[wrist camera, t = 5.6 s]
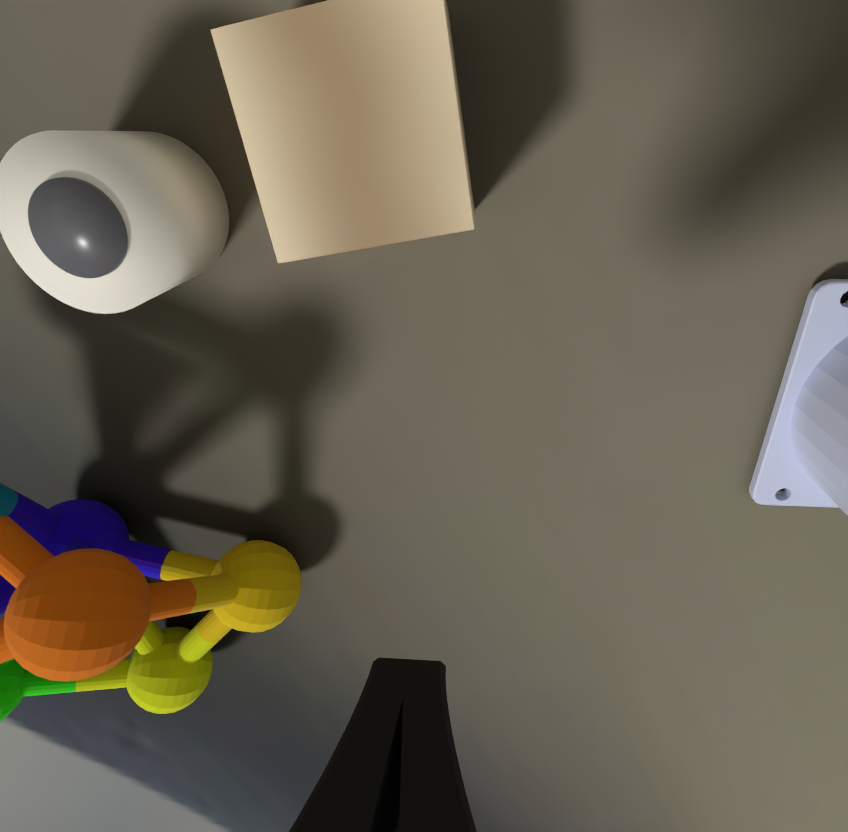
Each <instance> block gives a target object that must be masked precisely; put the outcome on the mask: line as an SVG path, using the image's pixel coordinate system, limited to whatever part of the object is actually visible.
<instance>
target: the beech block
mask: <svg viewBox="0 0 848 832" xmlns="http://www.w3.org/2000/svg"><path fill="white" fill-rule="evenodd" d="M211 34H212V37H213V40H214V44H215V47H216V51H217V54H218V58H219V61H220V65H221V68H222V71H223V75H224V78H225V82H226V85H227V89H228V92H229V96H230V99H231V102H232V106H233V109H234V113H235V116H236V120H237V123H238V127H239V130H240V134H241V137H242V140H243V144H244V147H245V151H246V154H247V158H248V161H249V165H250V168H251V171H252V175H253V178H254V182H255V185H256V189H257V192H258V196H259V199H260V202H261V206H262V209H263V213H264V216H265V220H266V223H267V227H268V230H269V233H270V237H271V240H272V244H273V247H274V251H275V254H276V258H277V261H278V263H283V262H289V261H295V260H301V259H306V258H312V257H318V256H324V255H329V254H335V253H341V252H347V251H352V250H358V249H364V248H370V247H375V246H381V245H387V244H393V243H398V242H404V241H410V240H416V239H421V238H427V237H433V236H439V235H444V234H450V233H456V232H462V231H467V230H473V229H474V217H475V209H474V201H473V193H472V186H471V178H470V170H469V163H468V155H467V148H466V140H465V132H464V125H463V117H462V110H461V102H460V94H459V87H458V79H457V72H456V64H455V56H454V49H453V41H452V33H451V26H450V18H449V11H448V6H447V2H446V0H327V1H323V2H319V3H315V4H311V5H307V6H303V7H299V8H295V9H291V10H287V11H283V12H279V13H275V14H271V15H267V16H263V17H259V18H255V19H251V20H247V21H243V22H239V23H235V24H231V25H227V26H223V27H219V28H215V29H211Z"/></svg>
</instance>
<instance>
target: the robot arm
mask: <svg viewBox="0 0 848 832" xmlns="http://www.w3.org/2000/svg"><path fill="white" fill-rule="evenodd" d="M847 291H848V279H828V280H823V281H821V282H819V283H817V284H816V285H815V286H814V287H813V288H812V289H811V291H810V293H809V295H808V297H807V300H806V304H805V307H804V310H803V314H802V317H801V320H800V323H799V327H798V330H797V333H796V336H795V340H794V343H793V346H792V350H791V353H790V356H789V359H788V363H787V366H786V369H785V373H784V376H783V379H782V382H781V386H780V389H779V392H778V395H777V399H776V402H775V405H774V409H773V412H772V415H771V418H770V422H769V425H768V428H767V432H766V435H765V438H764V441H763V445H762V448H761V451H760V454H759V458H758V461H757V464H756V468H755V471H754V474H753V477H752V481H751V484H750V487H749V493H750V495H751V497H752V498H753V499H754V501H755V502H757V503H758V504H763V505H784V506H811V507H838V508H840V509H841V510H842V511H843V512H844V513H845V514H846V515H847V516H848V301H846V302H845V303H842V304H840V298H841V297H842V295H843V294H844V293H846V292H847ZM784 488H786V489H785V490H784V491H783V492H782V493H780V494H776V492H777V491H778V490H780V489H784ZM289 832H477V831H476V828H475V824H474V821H473V818H472V814H471V811H470V807H469V803H468V799H467V796H466V792H465V788H464V784H463V780H462V776H461V771H460V767H459V763H458V758H457V754H456V750H455V745H454V740H453V735H452V729H451V723H450V717H449V711H448V703H447V694H446V666H445V665H444V664H443V663H442V662H441V661H428V660H410V659H392V658H378V659H376V660H375V661H373V664H372V667H371V670H370V673H369V676H368V679H367V681H366V684H365V686H364V689H363V691H362V694H361V696H360V699H359V701H358V703H357V706H356V708H355V710H354V712H353V714H352V716H351V719H350V721H349V723H348V725H347V727H346V729H345V731H344V733H343V735H342V737H341V739H340V741H339V743H338V745H337V747H336V749H335V751H334V753H333V755H332V757H331V759H330V761H329V763H328V765H327V767H326V768H325V770H324V772H323V774H322V776H321V778H320V779H319V781H318V783H317V785H316V786H315V788H314V790H313V792H312V793H311V795H310V797H309V799H308V800H307V802H306V804H305V806H304V807H303V809H302V811H301V812H300V814H299V816H298V818H297V819H296V821H295V823H294V824H293V826H292V828H291V829H290V831H289Z"/></svg>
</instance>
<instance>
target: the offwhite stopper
mask: <svg viewBox="0 0 848 832" xmlns="http://www.w3.org/2000/svg"><path fill="white" fill-rule="evenodd" d="M0 231H1V234H2V236H3V239H4V241H5V243H6V245H7V247H8V249H9V251H10V252H11V254H12V255H13V257H14V258H15V260H16V262H17V263H18V264H19V265H20V267H21V268H22V269H23V270H24V272H25V273H26V274H27V275H28V276H29V277H30V278H31V279H32V280H33V281H34V282H35V283H36V284H37V285H38V286H39V287H41V288H42V289H43V290H44V291H46V292H47V293H48V294H50V295H51V296H53V297H54V298H56V299H58V300H59V301H61V302H63V303H65V304H67V305H69V306H72V307H74V308H77V309H80V310H83V311H87V312H92V313H101V314H111V313H119V312H124V311H127V310H129V309H132V308H134V307H136V306H138V305H140V304H142V303H144V302H146V301H148V300H150V299H152V298H154V297H156V296H158V295H160V294H162V293H164V292H166V291H168V290H170V289H172V288H174V287H176V286H178V285H180V284H182V283H184V282H185V281H187V280H189V279H191V278H193V277H195V276H197V275H199V274H201V273H203V272H205V271H206V270H207V269H209V268H210V267H211V266H212V265H213V264H214V263H215V262H216V261H217V260H218V258H219V257H220V255H221V254H222V252H223V250H224V247H225V245H226V242H227V238H228V232H229V211H228V206H227V201H226V198H225V195H224V192H223V189H222V187H221V185H220V183H219V181H218V179H217V177H216V176H215V174H214V172H213V171H212V169H211V168H210V167H209V166H208V164H207V163H206V162H205V161H204V160H203V159H202V158H201V157H200V155H199V154H197V153H196V152H195V151H194V150H193V149H191V148H190V147H189V146H187V145H186V144H184V143H183V142H181V141H179V140H177V139H175V138H173V137H171V136H168V135H165V134H162V133H157V132H149V131H54V130H53V131H43V132H39V133H35V134H31V135H29V136H27V137H25V138H23V139H21V140H20V141H19V142H17V143H16V144H14V145H13V146H12V147H11V148H10V150H9V151H8V152H7V153H6V154H5V156H4V158H3V159H2V161H1V163H0Z"/></svg>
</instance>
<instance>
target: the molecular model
mask: <svg viewBox="0 0 848 832" xmlns="http://www.w3.org/2000/svg"><path fill="white" fill-rule="evenodd" d="M145 576H148V577H152V578H157V579H161V580H165V581H162V582H154V583H147V580H146V578H145ZM301 584H302V579H301V573H300V569H299V567H298V564H297V562H296V560H295V559H294V557H293V556H292V554H291V553H290V552H288V551H287V550H286V549H285V548H283V547H281V546H279V545H277V544H274V543H272V542H269V541H264V540H251V541H247V542H243V543H241V544H239V545H237V546H235V547H233V548H232V549H231V550H229V551H228V552H227V553H226V554H225V555H223V556H222V557H221V558H220V560H219V561H217V560H213V559H209V558H205V557H200V556H196V555H192V554H187V553H183V552H179V551H174V550H170V549H166V548H161V547H157V546H153V545H149V544H144V543H140V542H136V541H131V540H129V534H128V529H127V526H126V524H125V522H124V520H123V519H122V518H121V516H120V515H119V514H118V513H117V512H116V511H115V510H113V509H112V508H111V507H109V506H107V505H105V504H103V503H101V502H98V501H93V500H89V499H76V500H70V501H65V502H62V503H60V504H57V505H54V506H52V507H51V508H49V509H47V508H45V507H43V506H42V505H40V504H38V503H36V502H34V501H32V500H31V499H29V498H27V497H25V496H23V495H21V494H20V493H18V492H16V491H14V490H12V489H10V488H9V487H7V486H5V485H3V484H1V483H0V615H1V614H3V613H4V612H5V618H4V619H1V620H0V721H1V720H3V719H4V718H5V717H6V716H8V715H9V714H10V713H11V712H12V711H13V710H14V708H15V707H16V706H17V705H18V704H19V702H20V701H21V699H22V697H24V696H35V695H46V694H57V693H68V692H79V691H90V690H101V689H112V688H123V687H127V690H128V692H129V694H130V696H131V698H132V699H133V700H134V701H135V702H136V704H138V705H139V706H140V707H142V708H143V709H145V710H146V711H150V712H153V713H159V714H167V713H172V712H176V711H178V710H181V709H183V708H185V707H186V706H188V705H189V704H191V703H192V702H193V701H194V700H195V699H196V698H197V697H198V696H199V695H200V694H201V693H202V692H203V691H204V689H205V687H206V686H207V684H208V682H209V679H210V676H211V673H212V668H213V659H212V653H211V650H210V649H211V648H212V647H213V646H214V645H215V644H216V643H217V642H218V641H219V640H220V639H222V638H223V637H224V636H225V635H226V634H227V633H228V632H229V631H230V630H231V629H232V628H233V629H235V630H238V631H245V632H253V633H254V632H262V631H266V630H269V629H271V628H274V627H275V626H277V625H278V624H280V623H281V622H282V621H283V620H284V619H285V618H286V617H287V616H288V615H289V614H290V613H291V612H292V611H293V609H294V607H295V606H296V604H297V601H298V599H299V597H300V592H301ZM205 610H210V611H209V612H208V613H207V614H206V615H205V616H204V617H203V618H202V619H201V621H200V622H199V623H198V624H197V625H196V626H195V627H194V628H193V629H192V630H191V629H188V628H183V627H171V628H166V629H163V630H161V629H160V628H159V626H158V625H157V623H156V622H155V621H154V620H158V619H164V618H169V617H174V616H179V615H185V614H190V613H195V612H200V611H205ZM134 648H135V651H134V652H133V654H132V656H131V658H125V657H126V656H128V655H129V654H130V653H131V651H132V650H133V649H134Z"/></svg>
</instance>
